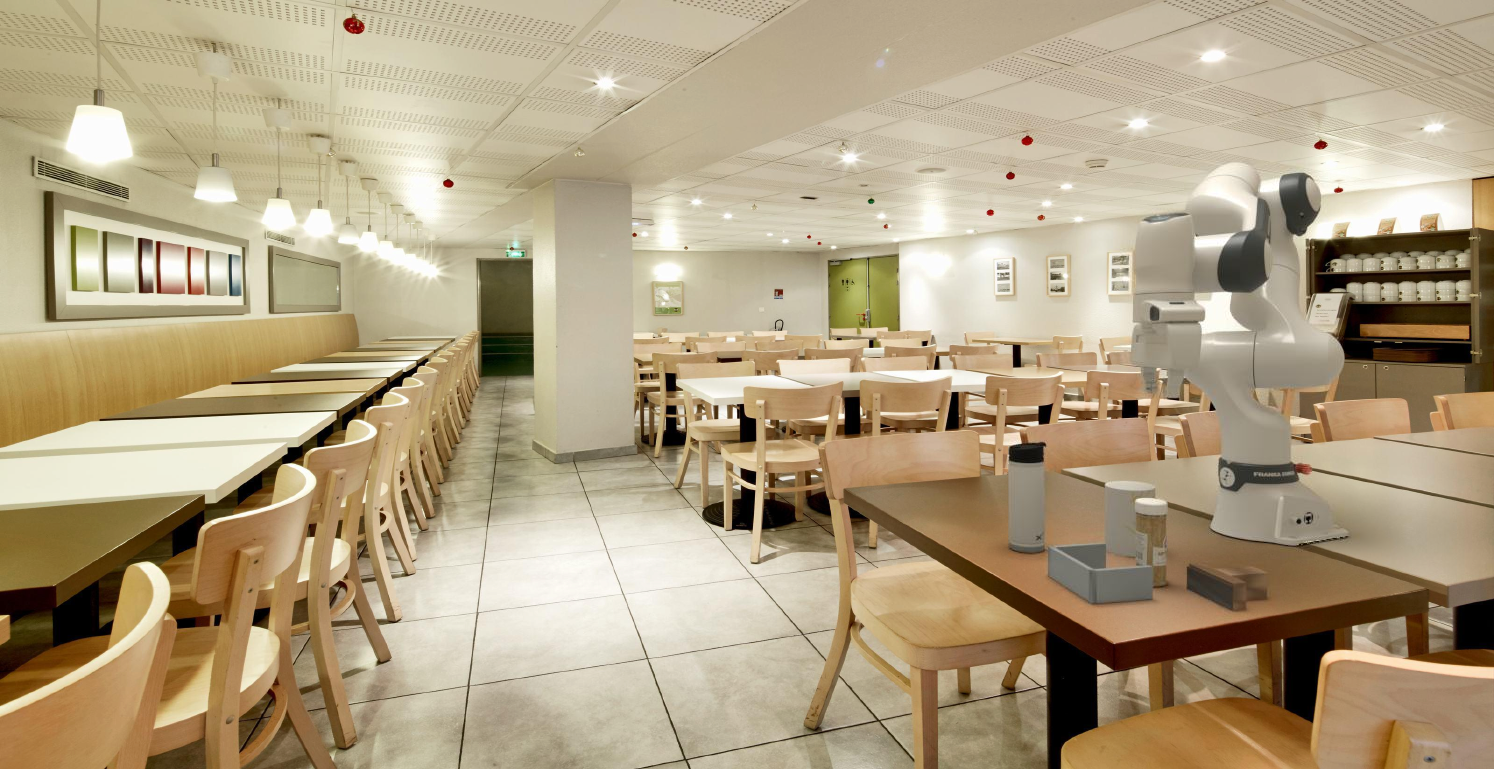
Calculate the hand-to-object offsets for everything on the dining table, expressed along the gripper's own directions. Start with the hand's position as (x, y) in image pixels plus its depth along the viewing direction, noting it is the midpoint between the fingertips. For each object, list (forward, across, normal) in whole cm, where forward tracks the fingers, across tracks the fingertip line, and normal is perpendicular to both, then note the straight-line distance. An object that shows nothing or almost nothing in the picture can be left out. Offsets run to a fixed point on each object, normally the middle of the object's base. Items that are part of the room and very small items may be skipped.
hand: (1160, 395), depth 123 cm
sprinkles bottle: (+30, +7, -3) cm, 31 cm away
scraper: (+30, +12, +6) cm, 33 cm away
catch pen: (+30, +9, -12) cm, 34 cm away
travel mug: (+30, -10, -19) cm, 37 cm away
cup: (+29, -10, -1) cm, 31 cm away
